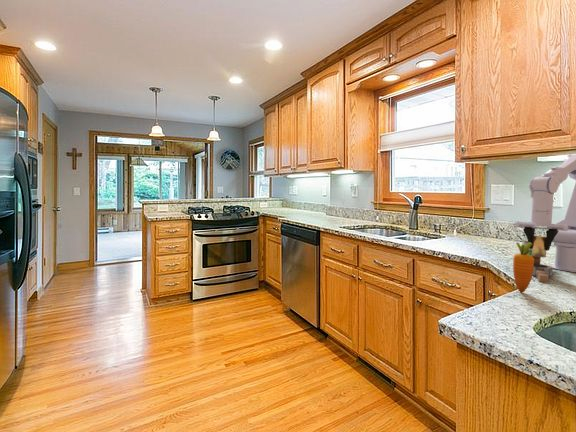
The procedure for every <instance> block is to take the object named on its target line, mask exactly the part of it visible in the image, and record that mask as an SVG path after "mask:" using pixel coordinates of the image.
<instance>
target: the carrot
mask: <svg viewBox="0 0 576 432" xmlns="http://www.w3.org/2000/svg"><path fill="white" fill-rule="evenodd" d="M515 244H516V246H517V248H518V250H519V252H520V253H515V254H514V255H513V259H512V261H513V265H512V269H513V270H512V271H513V277H514V278H513V279H514V282H515V285H516V287H517V289H518V291H519V292H520V293H521V294H523V293H524V292H525V291H526V290H527V288H528V287H529V285H530V284H531V280H532V277H533V276H532V274H533V268H534V258H533V257H532V256H531V255H528V253H529V252H531V251H532V249H529V248H530V247H531V245H532V243H530V242H529V243H528V244H526V245H525V244H522V243H521V245H520V243H519V242H515ZM528 249H529V250H528Z"/></svg>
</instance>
